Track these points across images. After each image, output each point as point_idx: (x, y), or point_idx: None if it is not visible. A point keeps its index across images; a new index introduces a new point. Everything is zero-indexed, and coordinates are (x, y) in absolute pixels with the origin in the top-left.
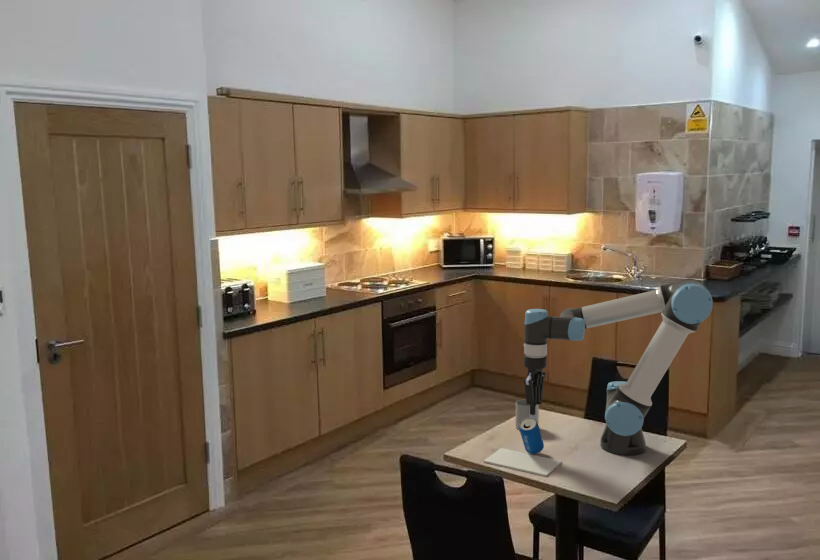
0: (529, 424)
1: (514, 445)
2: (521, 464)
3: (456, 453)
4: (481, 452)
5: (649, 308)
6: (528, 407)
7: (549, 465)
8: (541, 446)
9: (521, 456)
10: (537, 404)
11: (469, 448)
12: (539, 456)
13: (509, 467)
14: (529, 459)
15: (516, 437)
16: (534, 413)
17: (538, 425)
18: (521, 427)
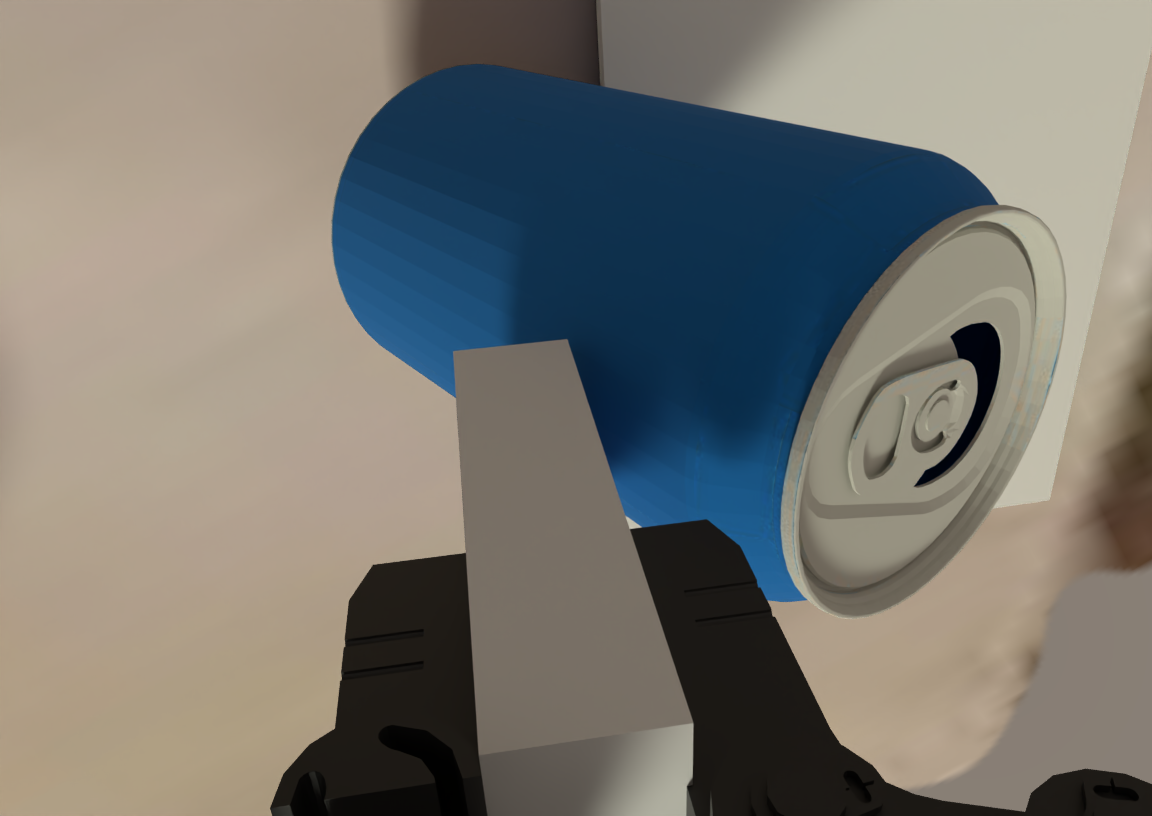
0: (938, 379)
1: (405, 514)
2: (1002, 105)
3: (928, 753)
4: (801, 635)
5: None
6: None
7: None
8: (531, 74)
9: None
10: (490, 799)
11: None
12: (612, 34)
13: (1110, 194)
14: (792, 103)
15: (154, 627)
16: (671, 553)
17: (758, 209)
18: (989, 465)
